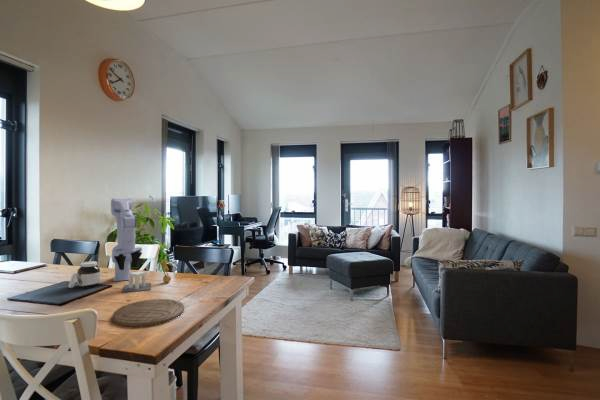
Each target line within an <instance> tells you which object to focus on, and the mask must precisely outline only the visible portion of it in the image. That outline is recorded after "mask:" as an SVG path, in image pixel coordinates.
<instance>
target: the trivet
mask: <svg viewBox="0 0 600 400" xmlns="http://www.w3.org/2000/svg"><path fill="white" fill-rule="evenodd" d="M183 311H185V305H184V303H182V302H181V301H179V300H175V299H168V298H167V299H166V298H158V299H157V298H156V299H155V298H154V299H153V298H152V299H145V300H139V301H135V302H132V303H128V304H125V305H123V306H121V307H119V308H117V309H116V310H115V311H113V313H112V321H113V323H114V324H115V325H118V326H120V327H121V326H122V327H128V328H141V327H140V326H146V327H151V326H150V325H153V326H156V325H155V324H158V325H160V324H159V323H162V324H164V323H163V322H166V321H169V320H172V319H174V318H176V317H178V316H179V317H181V316H182V315H183V314H184V312H183ZM182 313H183V314H182ZM181 314H182V315H181ZM179 317H178V318H179ZM176 319H177V318H176ZM174 320H175V319H174ZM172 321H173V320H172ZM169 322H170V321H169ZM166 323H167V322H166Z"/></svg>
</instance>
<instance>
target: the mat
mask: <svg viewBox="0 0 600 400" xmlns="http://www.w3.org/2000/svg"><path fill="white" fill-rule="evenodd" d="M151 290H152V283H151V282H146V286H145V287H142V282H141V283H139V289H135V283H133V287H132V288H129V284H124V285H123V289H122V291H121V292H122V294H123V293H132V292H134V293H135V292H144V291H151Z"/></svg>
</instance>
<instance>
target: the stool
mask: <svg viewBox="0 0 600 400" xmlns="http://www.w3.org/2000/svg"><path fill="white" fill-rule="evenodd" d="M146 277H147V274H146V272H145V271H139V270H138V271H134V272H133V271H132V272H130V273H129V280H128V285H129V288H132V287H133V284H135V289H139V284H140V281H141V283H142V287H145V286H146V283H147V281H146V280H147V278H146ZM140 278H141V280H140ZM133 281H134V282H133Z"/></svg>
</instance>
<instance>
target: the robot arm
mask: <svg viewBox="0 0 600 400" xmlns="http://www.w3.org/2000/svg"><path fill="white" fill-rule="evenodd" d="M132 209H133V199H132V198H111V200H110V212H111V215H112V216H114V217H115V220H116V235H117V236H116V238H117V239H116V240H117V245H115V246H114V247H112V250H111V261H112V263H114V278H113V280H112V281H113V282H120V281H129V273H131V265H132V267H137V266H138V263H139V260H140V258H141V256H142V254H143V249H142V247H141V246H139V247H136V228H137V226H138V225H137V224H138V219H137V216H136V215H134V213H133V211H132Z"/></svg>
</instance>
